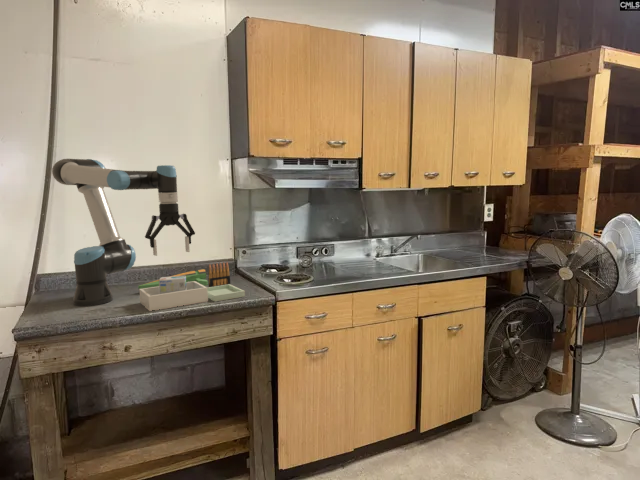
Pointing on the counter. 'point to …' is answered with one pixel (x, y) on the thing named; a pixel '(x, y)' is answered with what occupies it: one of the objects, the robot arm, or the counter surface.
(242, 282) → the counter surface
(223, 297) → the tray
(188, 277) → the toy spaceship
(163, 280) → the light bulb box
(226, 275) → the ammunition clip
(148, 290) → the deep bin
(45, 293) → the counter surface
